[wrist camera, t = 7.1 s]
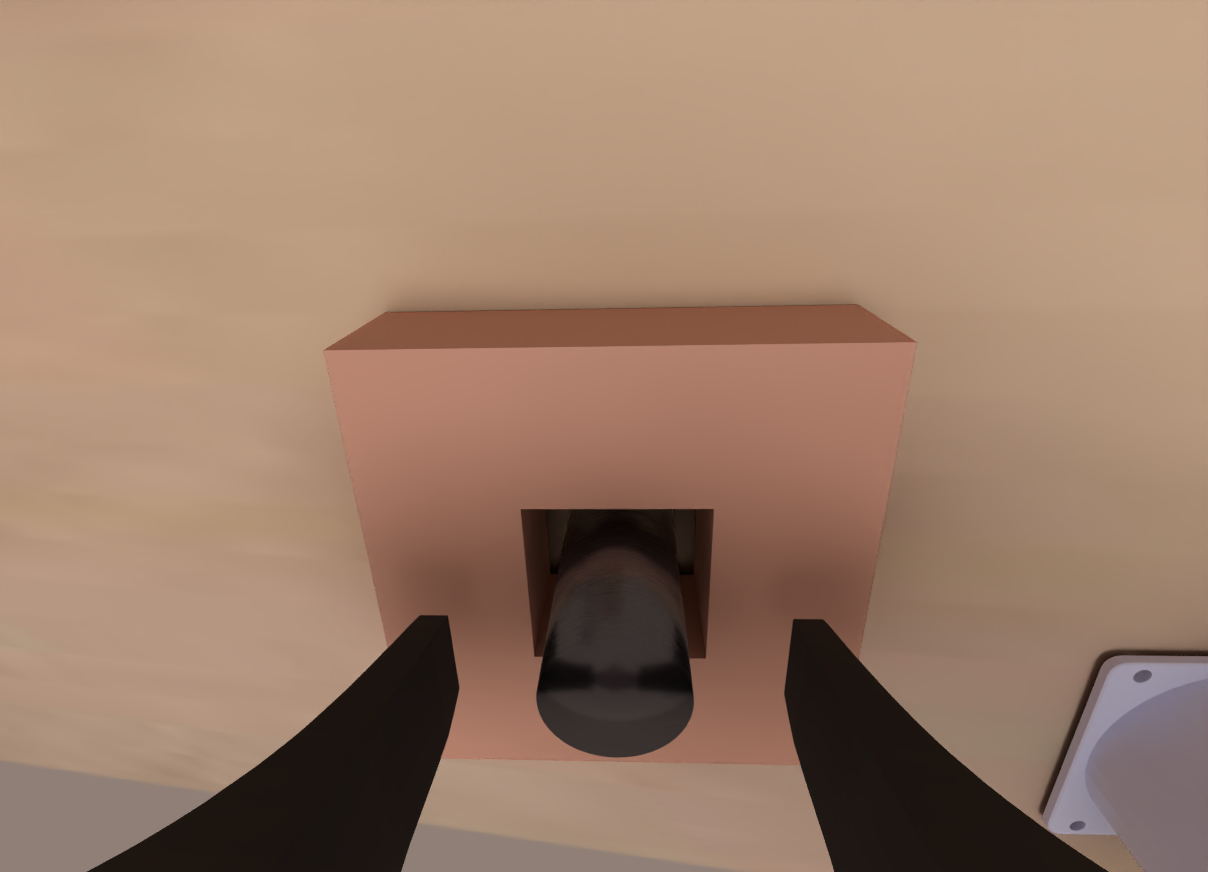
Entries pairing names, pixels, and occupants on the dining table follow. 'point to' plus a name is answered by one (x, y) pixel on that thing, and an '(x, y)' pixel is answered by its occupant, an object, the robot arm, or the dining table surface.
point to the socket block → (624, 489)
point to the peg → (617, 636)
